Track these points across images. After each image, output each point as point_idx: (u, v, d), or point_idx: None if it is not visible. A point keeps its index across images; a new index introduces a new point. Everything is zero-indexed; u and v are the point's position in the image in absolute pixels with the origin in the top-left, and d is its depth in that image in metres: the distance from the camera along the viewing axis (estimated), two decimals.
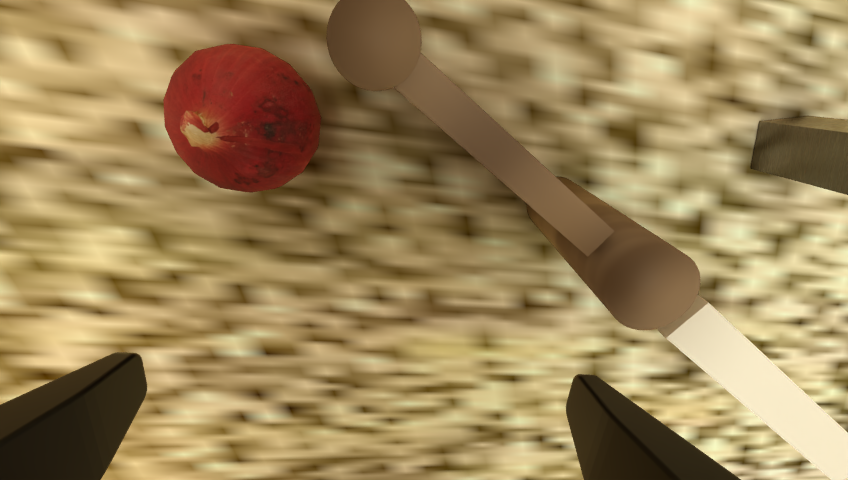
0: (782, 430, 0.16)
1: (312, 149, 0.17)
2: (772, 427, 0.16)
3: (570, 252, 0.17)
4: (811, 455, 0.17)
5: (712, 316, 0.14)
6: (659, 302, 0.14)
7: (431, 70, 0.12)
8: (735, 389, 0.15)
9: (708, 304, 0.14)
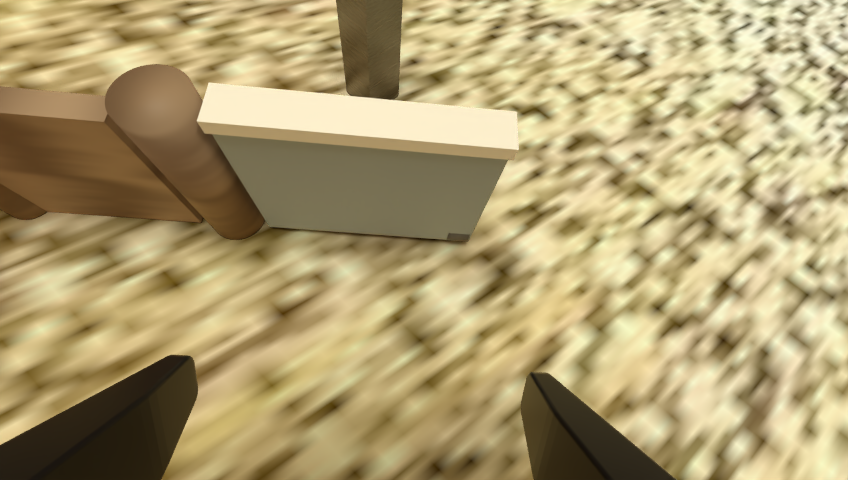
0: (396, 133, 0.15)
1: None
2: (383, 136, 0.15)
3: None
4: (454, 139, 0.16)
5: (222, 88, 0.15)
6: (162, 100, 0.15)
7: None
8: (308, 126, 0.15)
9: (209, 83, 0.15)
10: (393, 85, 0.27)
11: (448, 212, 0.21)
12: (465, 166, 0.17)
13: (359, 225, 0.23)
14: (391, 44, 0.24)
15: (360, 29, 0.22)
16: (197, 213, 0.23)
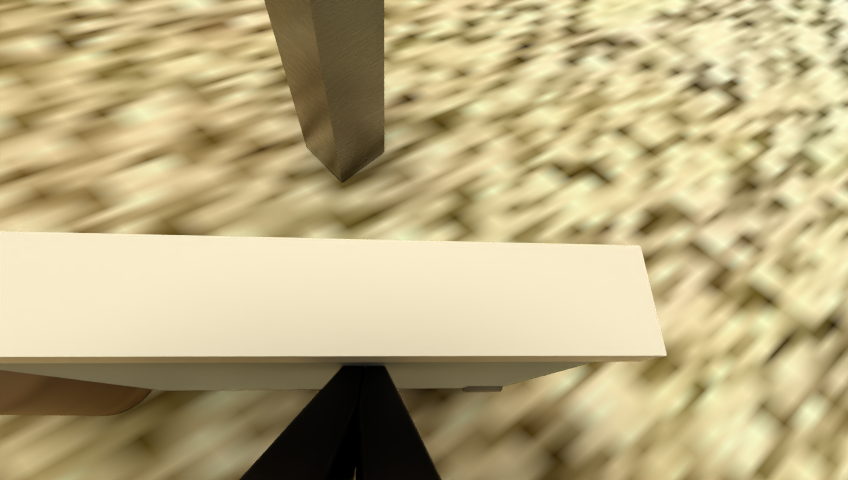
0: (356, 340, 0.06)
1: None
2: (322, 351, 0.06)
3: None
4: (506, 340, 0.06)
5: None
6: None
7: None
8: (117, 339, 0.06)
9: None
10: (376, 140, 0.18)
11: (470, 379, 0.12)
12: None
13: (315, 387, 0.13)
14: (368, 83, 0.15)
15: (311, 62, 0.13)
16: None
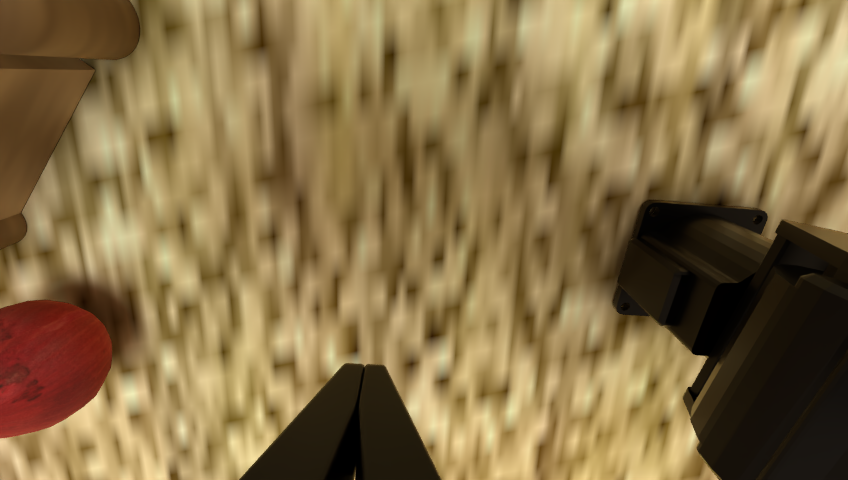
0: None
1: (26, 321, 0.18)
2: None
3: None
4: None
5: None
6: None
7: None
8: None
9: None
10: None
11: None
12: None
13: None
14: None
15: None
16: (77, 65, 0.17)
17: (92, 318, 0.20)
